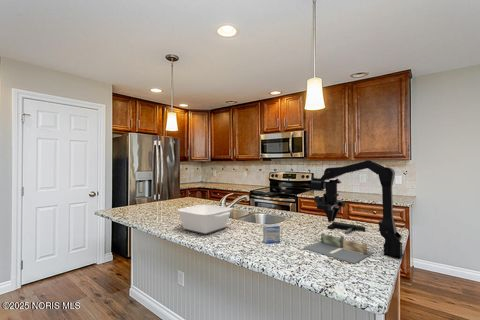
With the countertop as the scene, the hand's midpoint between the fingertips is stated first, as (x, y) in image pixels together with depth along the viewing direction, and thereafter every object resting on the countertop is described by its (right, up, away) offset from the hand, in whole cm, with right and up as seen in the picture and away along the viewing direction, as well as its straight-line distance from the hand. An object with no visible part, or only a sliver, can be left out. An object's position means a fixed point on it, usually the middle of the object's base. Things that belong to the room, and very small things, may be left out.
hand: (331, 221), depth 133 cm
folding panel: (-2, -10, -4) cm, 11 cm away
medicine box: (-31, -11, +2) cm, 33 cm away
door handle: (+18, -12, +25) cm, 33 cm away
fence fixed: (+6, -11, -13) cm, 18 cm away
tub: (-69, -11, +25) cm, 74 cm away
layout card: (-1, -11, -12) cm, 16 cm away
